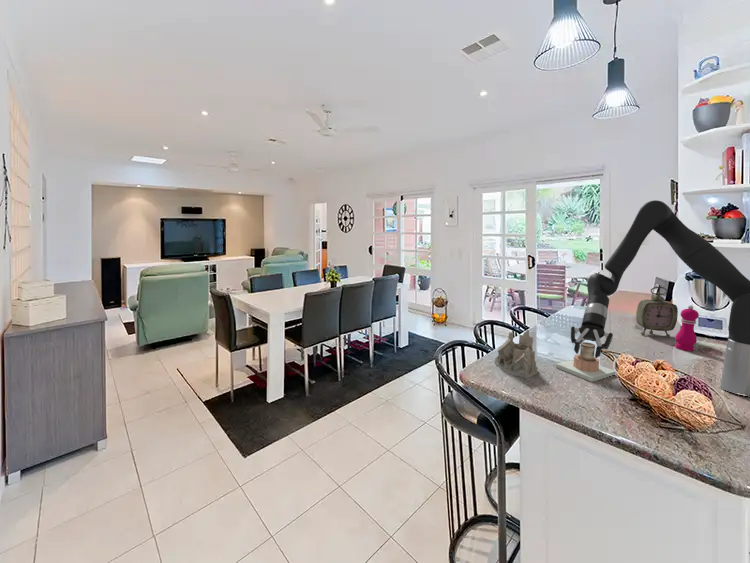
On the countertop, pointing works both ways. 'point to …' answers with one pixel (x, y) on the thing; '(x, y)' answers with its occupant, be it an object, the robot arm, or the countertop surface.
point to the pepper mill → (687, 330)
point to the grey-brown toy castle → (517, 356)
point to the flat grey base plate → (586, 369)
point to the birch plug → (587, 351)
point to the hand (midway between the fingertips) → (586, 354)
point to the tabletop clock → (656, 314)
